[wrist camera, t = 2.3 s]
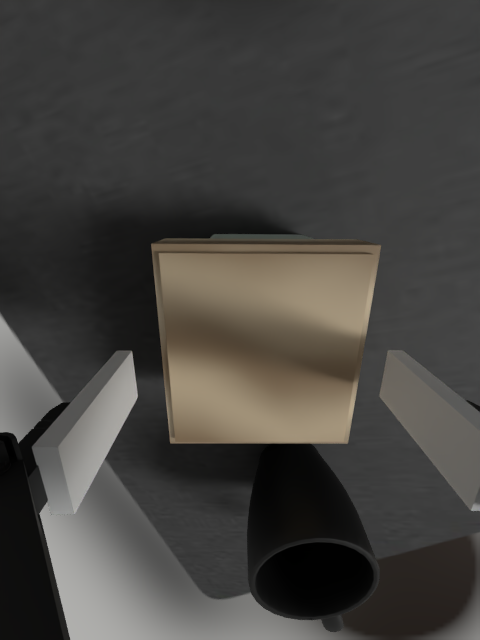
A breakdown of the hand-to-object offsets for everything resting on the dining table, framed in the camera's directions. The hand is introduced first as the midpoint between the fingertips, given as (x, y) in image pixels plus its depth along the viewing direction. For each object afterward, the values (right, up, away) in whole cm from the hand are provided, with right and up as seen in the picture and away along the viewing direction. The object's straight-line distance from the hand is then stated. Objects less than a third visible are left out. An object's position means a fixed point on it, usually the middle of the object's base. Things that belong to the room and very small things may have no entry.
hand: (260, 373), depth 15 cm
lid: (0, +2, +4) cm, 4 cm away
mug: (+4, -12, +13) cm, 18 cm away
